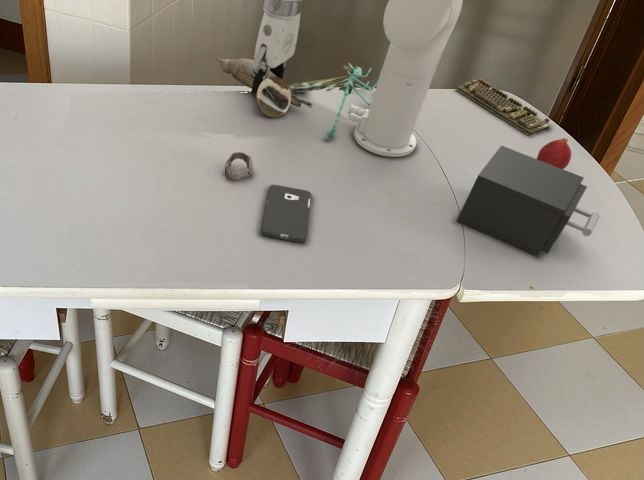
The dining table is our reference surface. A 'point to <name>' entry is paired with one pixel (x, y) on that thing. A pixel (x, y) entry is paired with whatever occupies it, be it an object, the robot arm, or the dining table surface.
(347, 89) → the insect sculpture
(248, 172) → the wristwatch
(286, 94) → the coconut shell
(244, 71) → the bird model
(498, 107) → the keyboard
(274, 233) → the cell phone
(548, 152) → the onion
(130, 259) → the dining table surface
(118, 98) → the dining table surface
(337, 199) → the dining table surface
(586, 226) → the drawer
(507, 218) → the dark grey box
